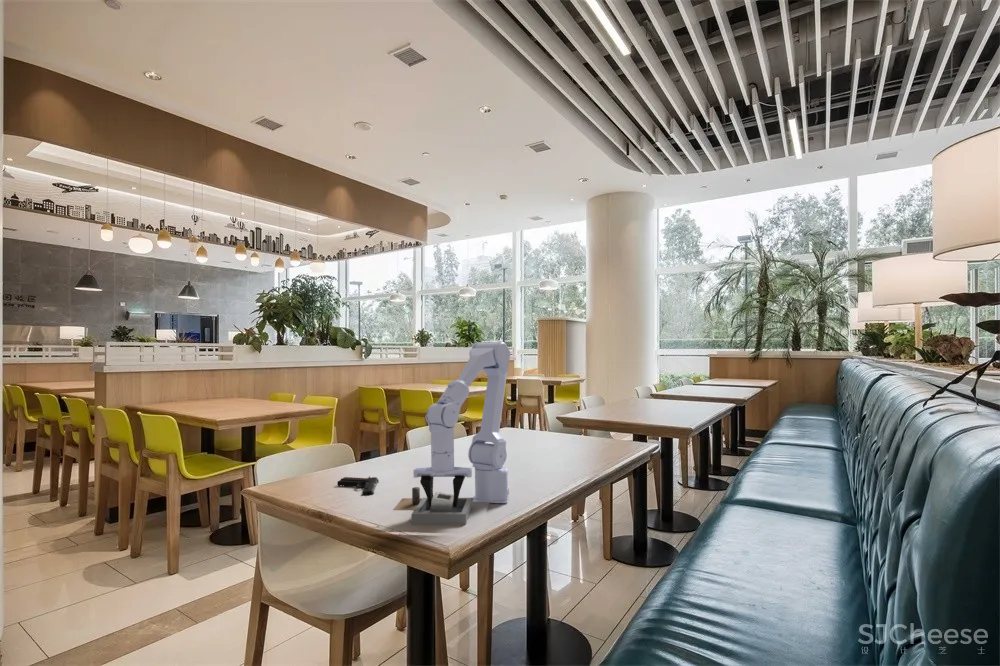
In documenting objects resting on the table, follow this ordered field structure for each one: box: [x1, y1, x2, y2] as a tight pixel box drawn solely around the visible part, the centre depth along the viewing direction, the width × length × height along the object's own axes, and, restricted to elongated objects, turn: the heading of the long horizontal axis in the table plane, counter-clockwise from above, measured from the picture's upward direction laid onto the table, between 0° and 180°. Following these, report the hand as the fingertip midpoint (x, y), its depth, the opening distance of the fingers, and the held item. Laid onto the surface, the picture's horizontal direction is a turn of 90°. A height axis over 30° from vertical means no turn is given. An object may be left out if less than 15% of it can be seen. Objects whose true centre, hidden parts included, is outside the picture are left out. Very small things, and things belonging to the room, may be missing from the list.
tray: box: [411, 497, 473, 526], centre depth 124 cm, size 13×13×3 cm
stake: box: [392, 486, 431, 511], centre depth 134 cm, size 10×10×5 cm
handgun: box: [337, 476, 380, 496], centre depth 151 cm, size 2×18×12 cm
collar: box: [430, 491, 454, 512], centre depth 124 cm, size 5×5×4 cm
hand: (443, 505), depth 124 cm, fingers closed on collar, 5 cm apart
